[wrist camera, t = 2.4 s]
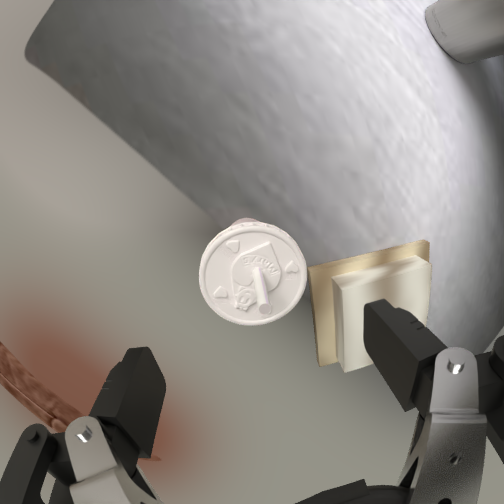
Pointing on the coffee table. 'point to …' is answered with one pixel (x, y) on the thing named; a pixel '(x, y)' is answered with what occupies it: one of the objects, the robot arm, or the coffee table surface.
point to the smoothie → (252, 273)
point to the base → (325, 292)
